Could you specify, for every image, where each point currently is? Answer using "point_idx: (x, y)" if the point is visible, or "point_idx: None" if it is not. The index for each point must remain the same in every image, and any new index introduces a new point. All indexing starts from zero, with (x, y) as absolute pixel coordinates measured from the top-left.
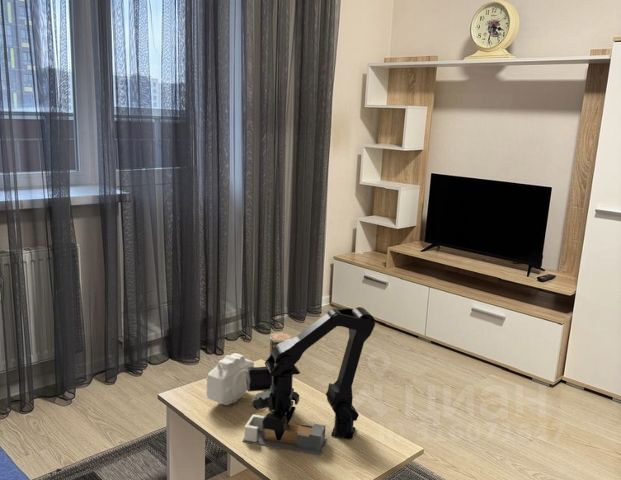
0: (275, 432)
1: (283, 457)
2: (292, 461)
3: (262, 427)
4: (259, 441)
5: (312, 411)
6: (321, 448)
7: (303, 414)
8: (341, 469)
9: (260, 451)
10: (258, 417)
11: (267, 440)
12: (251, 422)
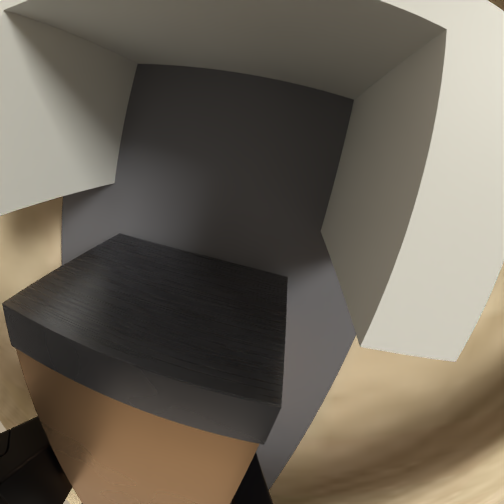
0: (24, 429)
1: (20, 371)
2: (20, 400)
3: (8, 306)
4: (92, 208)
5: (493, 478)
6: None
7: (490, 461)
8: (73, 497)
9: (8, 232)
10: (420, 186)
11: None
12: (227, 6)
